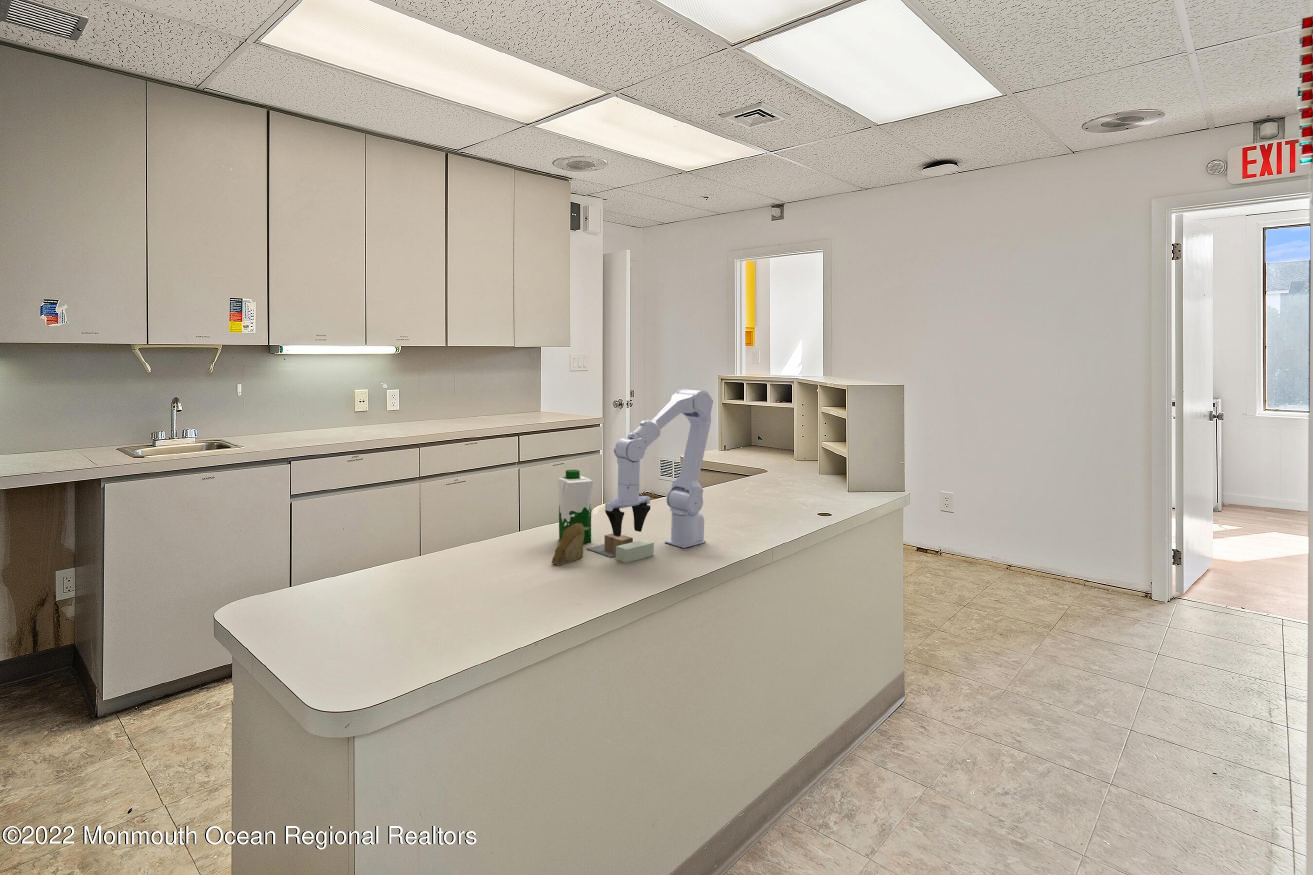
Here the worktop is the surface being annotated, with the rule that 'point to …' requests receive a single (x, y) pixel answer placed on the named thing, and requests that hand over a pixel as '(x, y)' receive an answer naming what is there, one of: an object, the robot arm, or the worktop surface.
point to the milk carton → (575, 502)
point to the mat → (602, 551)
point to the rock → (570, 545)
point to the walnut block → (615, 541)
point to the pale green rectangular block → (634, 551)
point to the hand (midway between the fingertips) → (627, 533)
